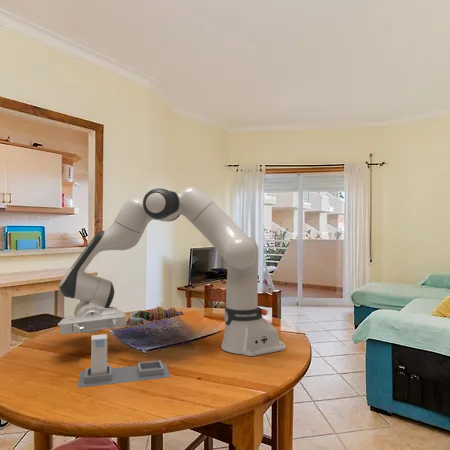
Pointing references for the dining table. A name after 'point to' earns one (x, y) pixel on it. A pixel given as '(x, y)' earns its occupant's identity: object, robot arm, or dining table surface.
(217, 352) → the dining table surface
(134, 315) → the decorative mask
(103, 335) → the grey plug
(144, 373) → the grey flat plate
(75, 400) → the dining table surface
